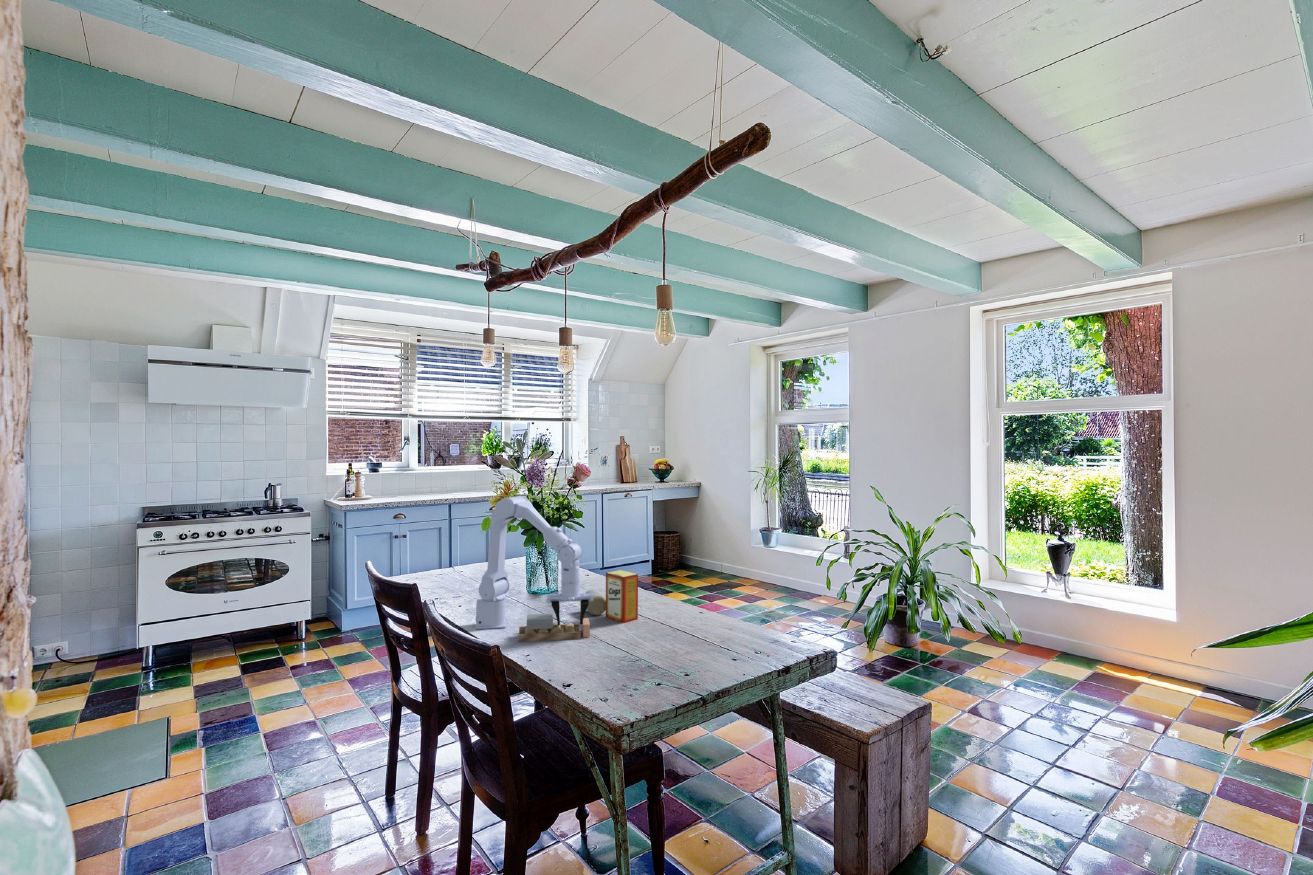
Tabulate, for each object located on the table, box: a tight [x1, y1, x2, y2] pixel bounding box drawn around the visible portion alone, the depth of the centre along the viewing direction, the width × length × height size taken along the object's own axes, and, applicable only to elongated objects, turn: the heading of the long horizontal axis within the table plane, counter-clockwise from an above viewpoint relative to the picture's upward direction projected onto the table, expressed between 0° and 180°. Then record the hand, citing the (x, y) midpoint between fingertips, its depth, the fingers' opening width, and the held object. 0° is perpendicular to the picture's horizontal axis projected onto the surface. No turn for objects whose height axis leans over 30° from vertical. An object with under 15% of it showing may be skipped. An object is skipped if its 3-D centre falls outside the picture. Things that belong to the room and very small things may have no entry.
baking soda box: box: [605, 569, 639, 624], centre depth 220 cm, size 10×6×16 cm
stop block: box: [581, 617, 591, 638], centre depth 202 cm, size 2×7×4 cm, turn 10°
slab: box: [526, 612, 554, 630], centre depth 200 cm, size 8×6×3 cm
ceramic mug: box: [585, 589, 606, 616], centre depth 226 cm, size 11×8×8 cm
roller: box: [564, 622, 575, 632], centre depth 202 cm, size 6×3×3 cm, turn 11°
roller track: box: [517, 621, 581, 643], centre depth 200 cm, size 19×9×3 cm, turn 101°
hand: (570, 623), depth 201 cm, fingers open, 6 cm apart
